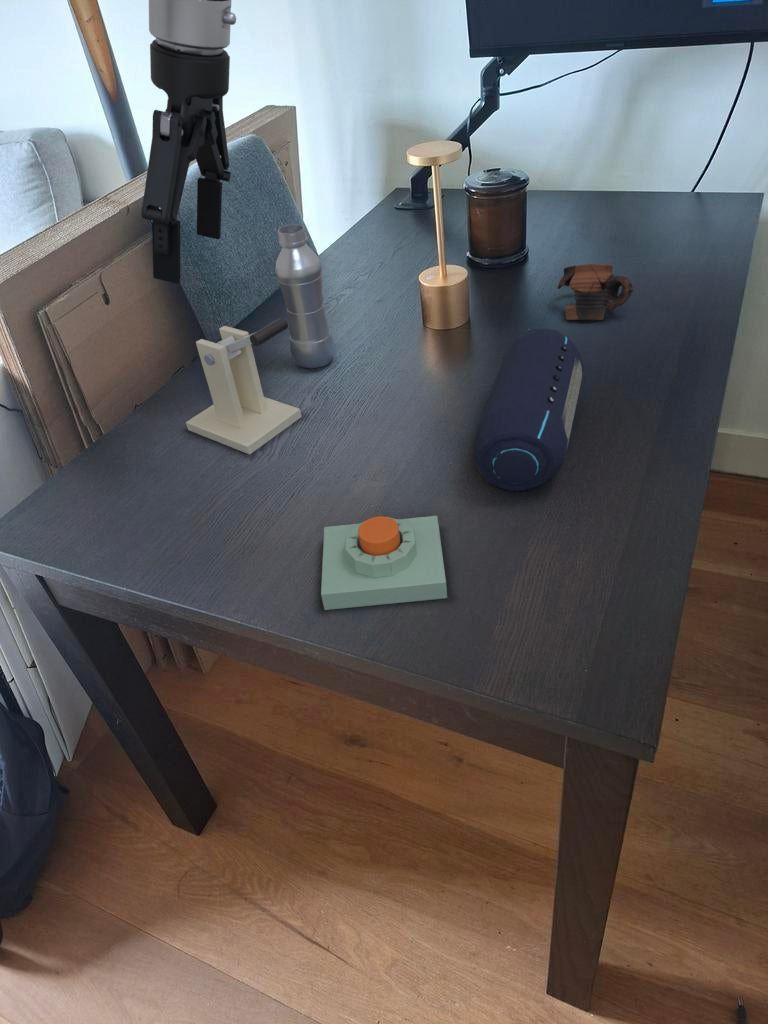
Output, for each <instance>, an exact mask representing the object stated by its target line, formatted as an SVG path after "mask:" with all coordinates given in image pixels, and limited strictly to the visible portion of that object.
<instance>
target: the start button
mask: <svg viewBox="0 0 768 1024" xmlns="http://www.w3.org/2000/svg"><path fill="white" fill-rule="evenodd" d="M389 517H390V516H373V517H370V518H368V519H365V520H364V521H362V522H363V523H362V522H361V523H362V524H361V525H360V527H359V529H358V535H359V541H360V546H361V549H362V550H363V551H364V552H365V553H367V554H369V555H373V556H379V555H387V554H389V553H391V552H393V551H395V550H396V549H397V548H398V546H399V544H400V534H399V527H398V524H397V522H396V521H395V520H393V519H391V518H392V517H390V518H389Z"/></svg>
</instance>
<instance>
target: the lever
mask: <svg viewBox="0 0 768 1024" xmlns="http://www.w3.org/2000/svg"><path fill="white" fill-rule="evenodd" d="M288 327H289V322H288V321H287V319H285V318H284V317H279V318H277V319H276V320H274V321H272V322H271V323H269V324H267V325H266V326H264V327H261V328H260V329H259V330H257V331H255V332H253V333H249V335H248V336H246V337H243V338H241V339H239V340H236V341H235V339H234V337H233V336H230V337H227V338H225V339H223V340H222V339H221V340H219V341H217V342H216V343H217V344H220V345H223V346H225V348H226V352H227V355H228V359H229V360H231V359H232V358H234V357H236V356H237V355H239V354H241V353H242V352H241V350H240V349H241V348H244V347H246V346H249V345H251V346H254V347H259V346H261V345H262V344H265V343H266V342H267V341H269V340H270V339H273V338H274V337H275V336H277V335H279V334H280V333H282V332H283V331H286V330H287V329H288Z"/></svg>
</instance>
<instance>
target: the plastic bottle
mask: <svg viewBox="0 0 768 1024" xmlns="http://www.w3.org/2000/svg"><path fill="white" fill-rule="evenodd" d="M277 236H278V244H279V246H280V247H281V250H280V252H279V254H278V256H277V259H276V261H275V270H274V272H275V276H276V279H277V282H278V284H279V288H280V291H281V293H282V296H283V300H284V305H285V307H286V313H287V319H288V327H289V351H290V354H291V356H292V359H293V361H294V362H295V363H296V364H297V365H298V366H299V367H301V368H305V369H317V368H321V367H324V366H327V365H329V364H330V363H331V362H332V360H333V358H334V356H335V353H336V352H335V347H336V345H335V340H334V338H333V333H332V332H331V330H330V326H329V322H328V318H327V314H326V309H325V303H324V301H325V300H324V293H323V292H324V291H323V264H322V262H321V260H320V258H319V256H318V255H317V254H316V252H315V251H314V250H313V249H312V248H311V247H310V246H309V245H308V244H307V242H309V239H308V236H307V233H306V227H305V226H304V225H303V224H300V223H293V224H287V225H283V226H281V227H279V228H278V229H277Z"/></svg>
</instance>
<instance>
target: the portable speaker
mask: <svg viewBox="0 0 768 1024" xmlns="http://www.w3.org/2000/svg"><path fill="white" fill-rule="evenodd" d="M584 368H585V367H584V362H583V358H582V355H581V352H580V351H579V349H578V347H577V345H576V344H575V343H574V342H573V341H572V340H571V339H570V338H569V337H567V336H566V335H565V334H563V333H561V332H559V331H558V330H556V329H551V328H546V327H545V328H544V327H543V328H541V327H540V328H535V329H531V330H529V331H526V332H524V333H523V334H521V335H520V336H519V337H517V339H516V340H515V341H514V342H513V343H511V345H510V347H509V349H508V350H507V352H506V353H505V355H504V356H503V359H502V361H501V365H500V367H499V370H498V372H497V375H496V379H495V381H494V383H493V386H492V389H491V392H490V395H489V397H488V401H487V403H486V405H485V408H484V411H483V414H482V416H481V419H480V422H479V425H478V427H477V429H476V430H477V431H476V434H475V442H474V443H475V445H474V459H475V462H476V465H477V468H478V471H479V473H480V474H481V475H482V476H483V478H484V479H485V480H486V481H487V483H489V484H491V485H493V486H494V487H496V488H499V489H502V490H506V491H512V492H518V491H519V492H521V491H528V490H531V489H533V488H536V487H539V486H541V485H542V484H544V483H546V482H548V481H549V480H551V479H552V478H553V477H555V476H556V475H557V474H558V472H560V470H561V469H562V466H563V465H564V463H565V459H566V456H567V452H568V447H569V443H570V438H571V433H572V428H573V422H574V418H575V413H576V408H577V405H578V404H577V403H578V399H579V396H580V395H579V394H580V389H581V384H582V380H583V373H584Z"/></svg>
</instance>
